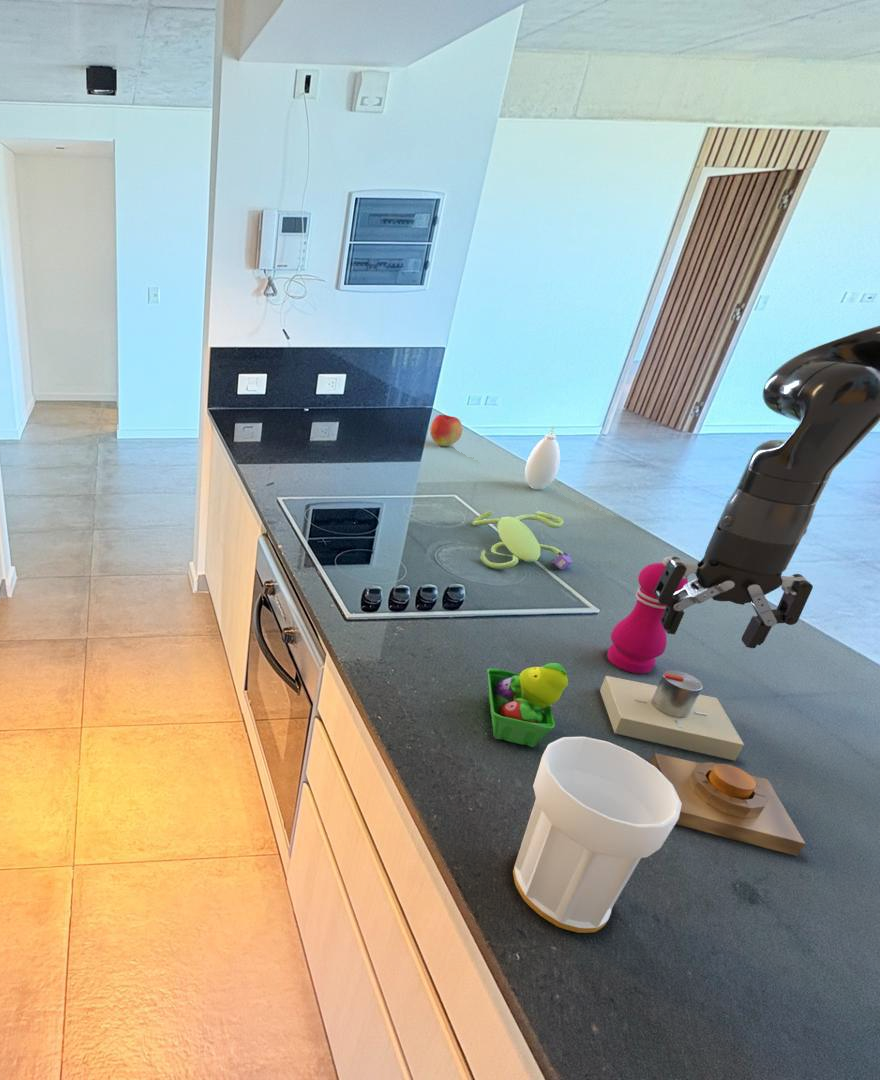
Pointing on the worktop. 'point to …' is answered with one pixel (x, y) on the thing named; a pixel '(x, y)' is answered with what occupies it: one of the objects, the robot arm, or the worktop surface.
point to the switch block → (729, 807)
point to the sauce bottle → (543, 462)
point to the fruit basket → (525, 702)
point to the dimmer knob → (676, 693)
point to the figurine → (521, 539)
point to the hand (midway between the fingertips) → (707, 637)
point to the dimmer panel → (669, 720)
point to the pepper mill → (642, 626)
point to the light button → (732, 781)
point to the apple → (446, 430)
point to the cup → (590, 830)
